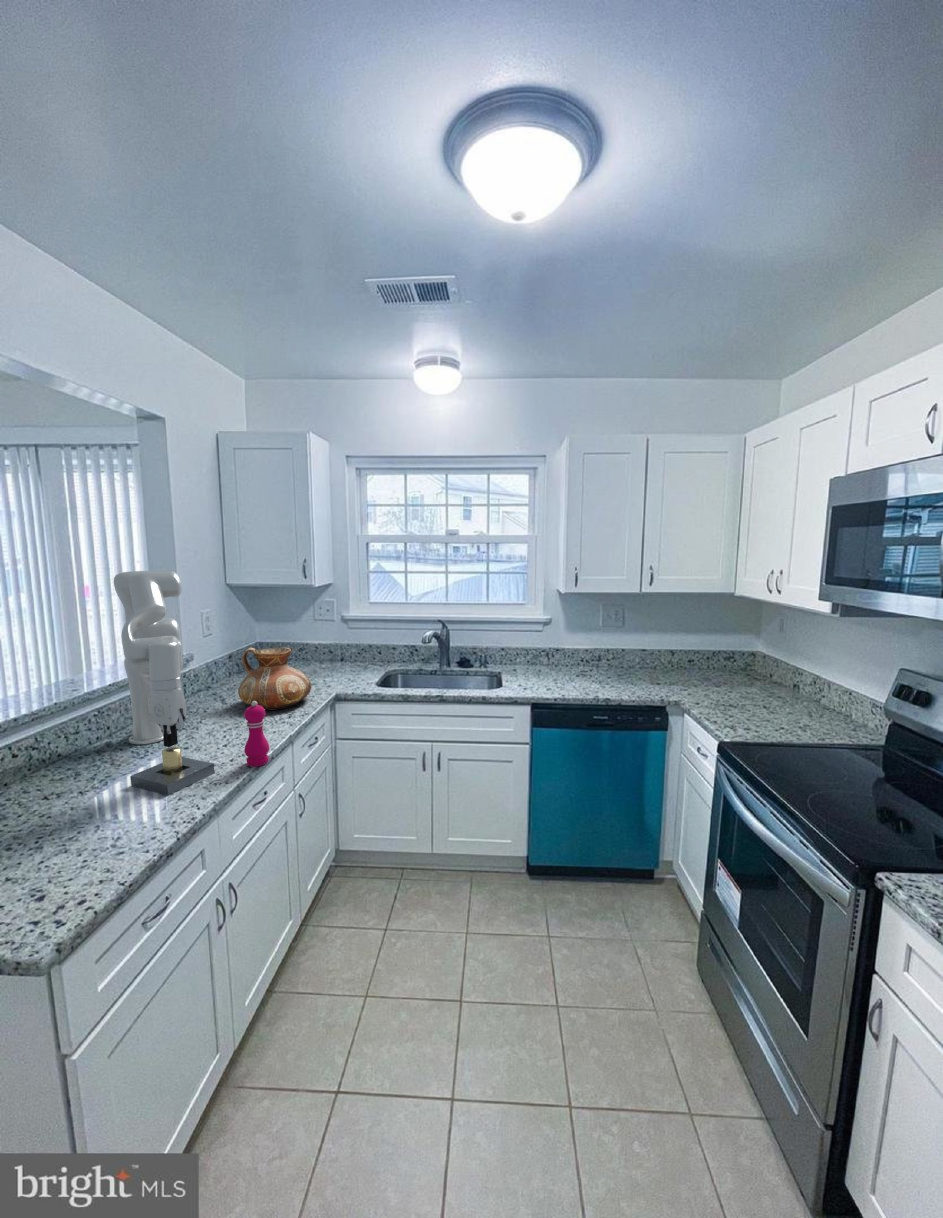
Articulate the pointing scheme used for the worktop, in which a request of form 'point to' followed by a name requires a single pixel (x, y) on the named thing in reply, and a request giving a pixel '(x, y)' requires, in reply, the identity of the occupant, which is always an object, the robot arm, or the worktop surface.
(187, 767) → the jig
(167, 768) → the cylinder
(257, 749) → the pepper mill
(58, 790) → the worktop surface
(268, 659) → the jug
